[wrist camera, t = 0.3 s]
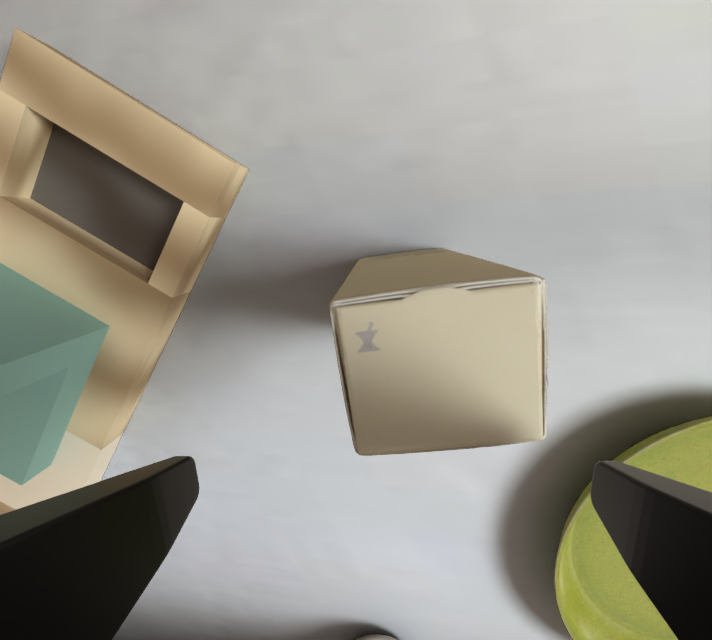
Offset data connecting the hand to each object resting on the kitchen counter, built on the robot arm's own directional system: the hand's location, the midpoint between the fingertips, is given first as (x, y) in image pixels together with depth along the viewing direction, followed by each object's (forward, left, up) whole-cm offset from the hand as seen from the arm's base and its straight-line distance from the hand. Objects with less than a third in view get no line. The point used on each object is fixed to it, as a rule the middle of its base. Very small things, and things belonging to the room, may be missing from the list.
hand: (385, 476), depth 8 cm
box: (-2, +2, -14) cm, 14 cm away
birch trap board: (-1, -23, -14) cm, 27 cm away
